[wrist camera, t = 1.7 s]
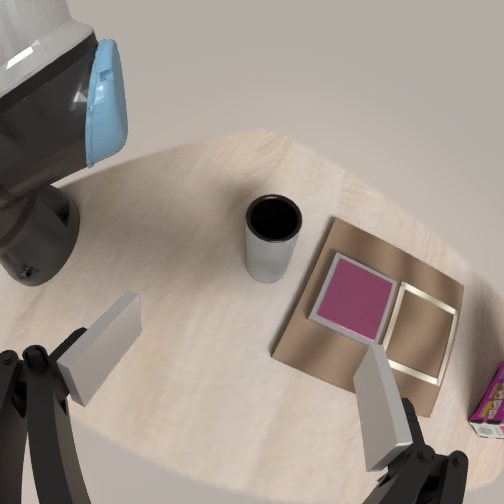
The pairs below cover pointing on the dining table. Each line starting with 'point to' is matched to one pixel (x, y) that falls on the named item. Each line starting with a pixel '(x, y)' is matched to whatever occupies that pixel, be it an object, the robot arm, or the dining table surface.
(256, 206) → the gray cylinder
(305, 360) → the walnut board
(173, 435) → the dining table surface
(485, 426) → the candy bar box
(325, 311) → the ink pad
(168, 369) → the dining table surface
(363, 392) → the robot arm
